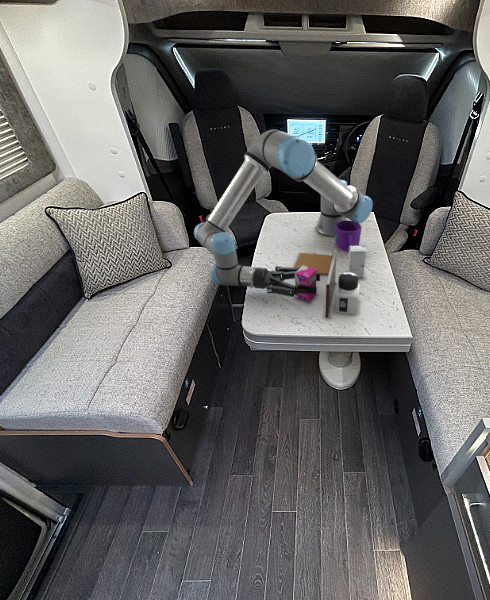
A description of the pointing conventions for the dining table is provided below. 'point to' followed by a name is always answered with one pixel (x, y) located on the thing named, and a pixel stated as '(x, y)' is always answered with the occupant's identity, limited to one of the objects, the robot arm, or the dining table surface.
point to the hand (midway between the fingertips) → (318, 283)
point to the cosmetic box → (357, 260)
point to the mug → (347, 234)
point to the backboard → (330, 284)
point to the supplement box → (305, 282)
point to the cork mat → (315, 262)
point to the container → (347, 293)
